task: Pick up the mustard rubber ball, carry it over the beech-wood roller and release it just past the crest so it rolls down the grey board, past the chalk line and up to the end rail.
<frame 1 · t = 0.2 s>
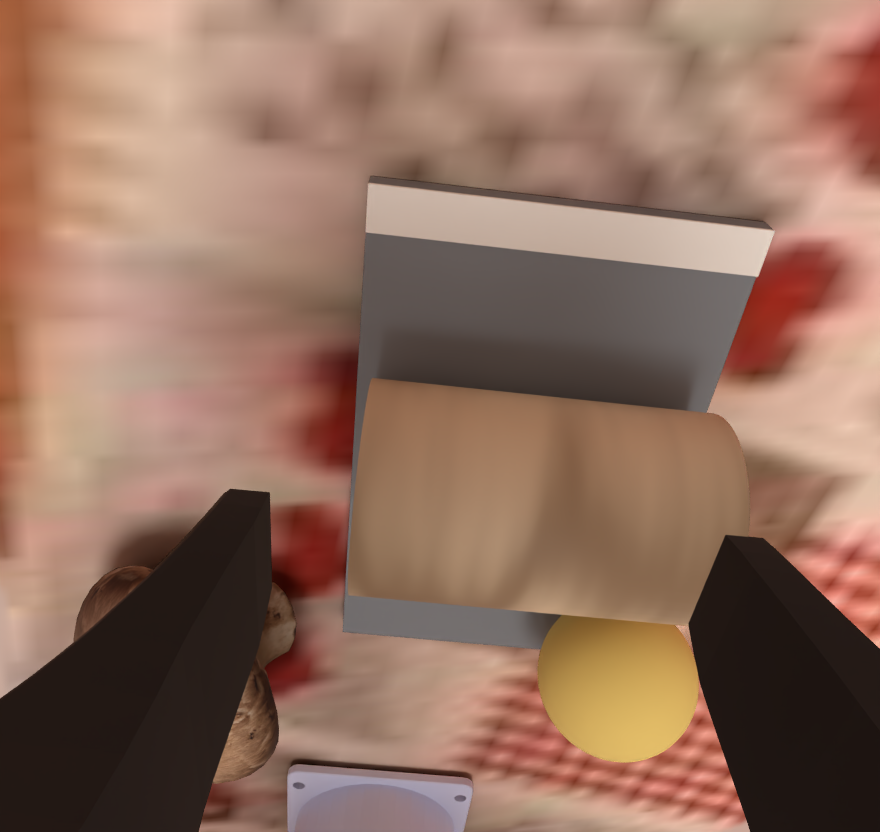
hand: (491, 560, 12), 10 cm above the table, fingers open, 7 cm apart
ball: (602, 616, 26), point 1 cm above the table, touching grey board
mushroom: (208, 600, 27), on the table
roller: (522, 429, 22), resting on grey board
grey board: (516, 456, 23), on the table
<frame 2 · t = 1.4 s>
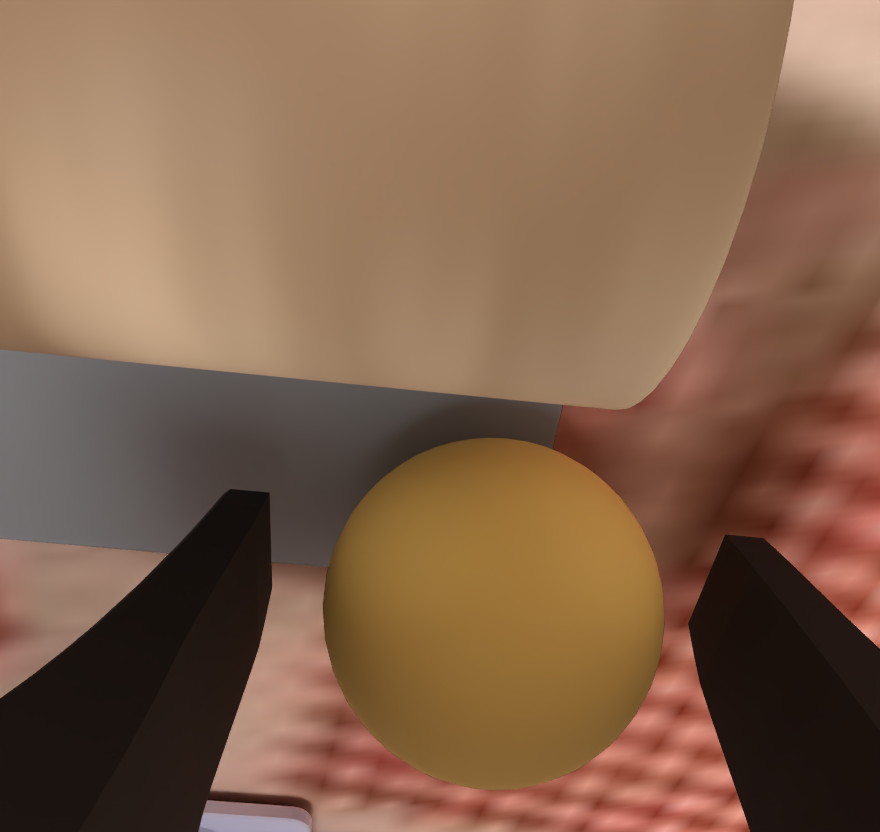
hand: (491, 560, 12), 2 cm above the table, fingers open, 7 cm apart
ball: (484, 498, 13), point 1 cm above the table, touching grey board
roller: (257, 32, 10), resting on grey board
grey board: (259, 112, 10), on the table
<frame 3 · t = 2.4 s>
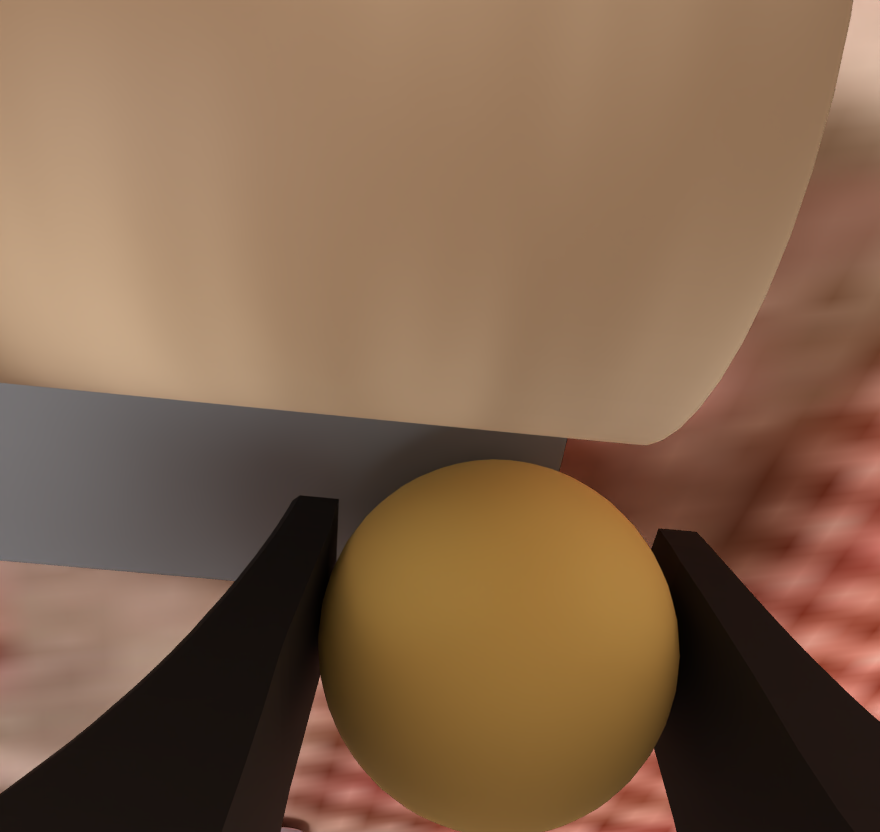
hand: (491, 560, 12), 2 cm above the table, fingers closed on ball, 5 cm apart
ball: (488, 519, 13), point 1 cm above the table, touching gripper, grey board
roller: (247, 31, 9), resting on grey board
grey board: (250, 116, 10), on the table
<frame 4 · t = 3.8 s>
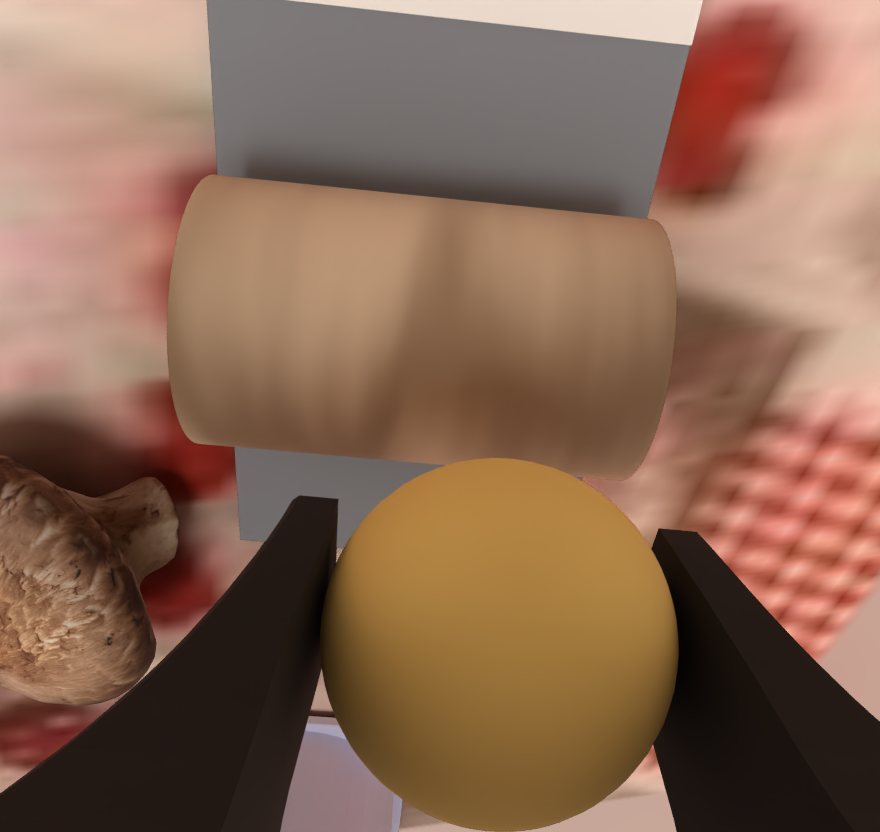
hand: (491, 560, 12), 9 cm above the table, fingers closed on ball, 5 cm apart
ball: (493, 518, 13), point 8 cm above the table, touching gripper
mushroom: (88, 507, 23), on the table
roller: (427, 273, 19), resting on grey board
grey board: (423, 310, 19), on the table
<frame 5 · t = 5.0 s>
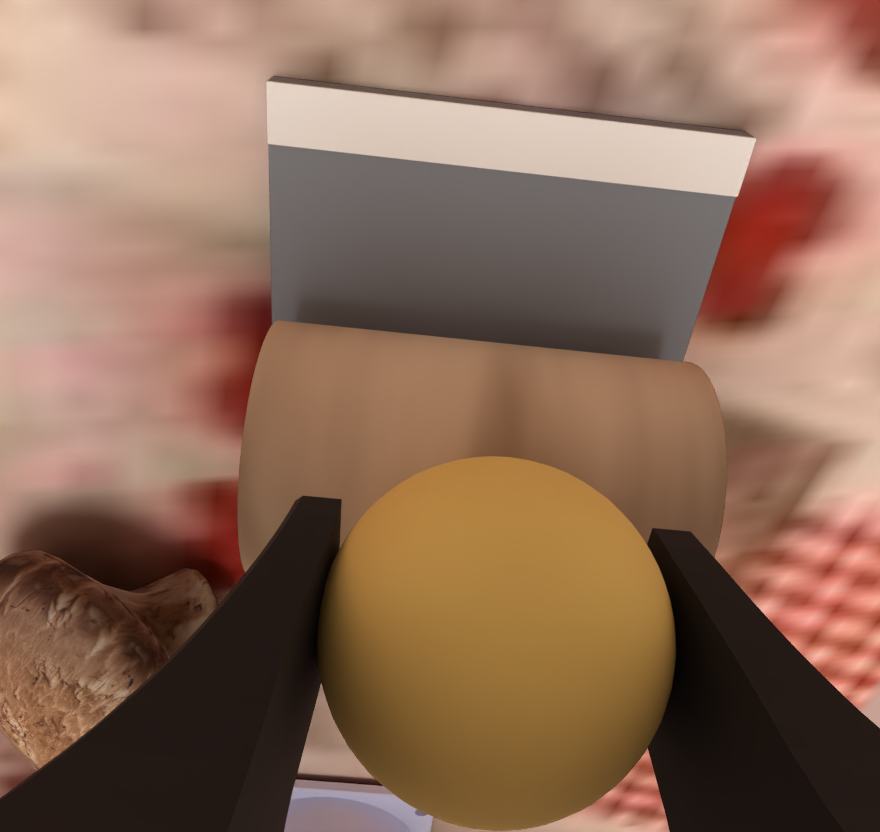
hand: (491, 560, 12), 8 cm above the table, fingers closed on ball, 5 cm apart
ball: (491, 517, 13), point 7 cm above the table, touching gripper
mushroom: (128, 591, 24), on the table
roller: (470, 389, 19), resting on grey board
grey board: (465, 421, 20), on the table
when the fingers open (8 cm above the table, at t = 5.3 s): ball drops 6 cm and tips over, point 1 cm above the table.
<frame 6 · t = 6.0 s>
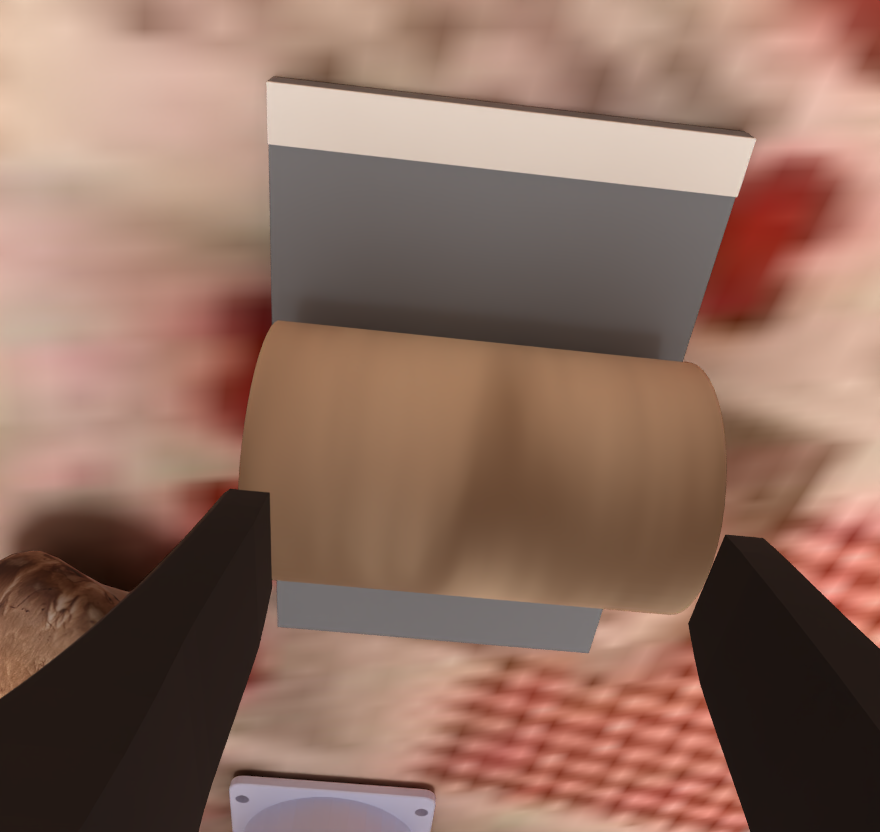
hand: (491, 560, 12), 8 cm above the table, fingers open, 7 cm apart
mushroom: (128, 591, 24), on the table
roller: (470, 389, 19), resting on grey board
grey board: (465, 421, 20), on the table
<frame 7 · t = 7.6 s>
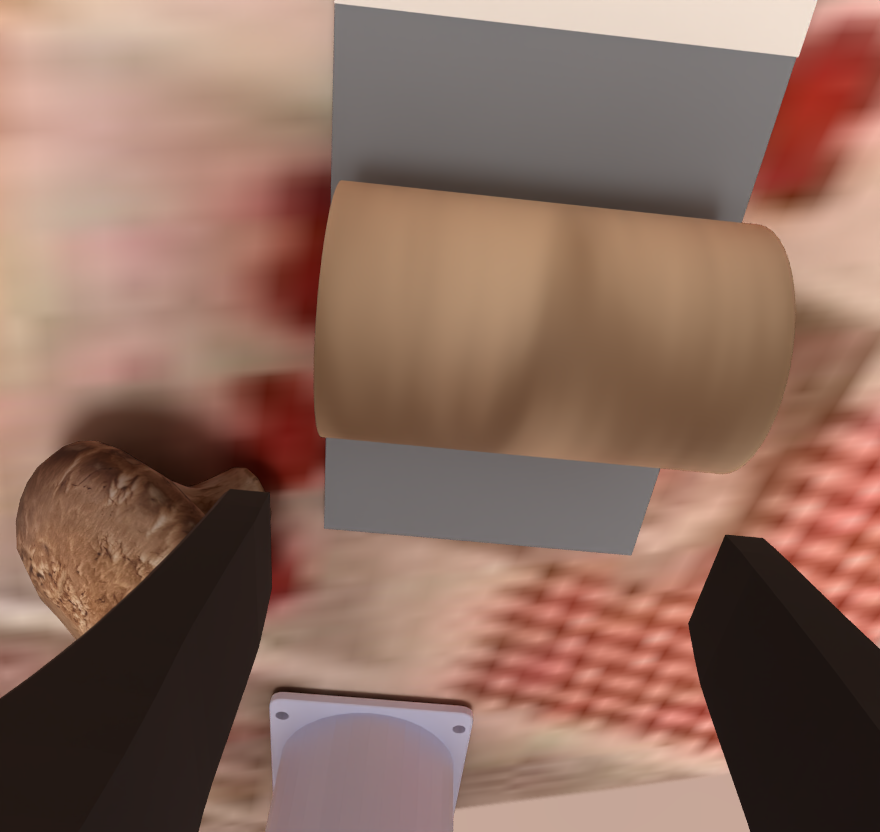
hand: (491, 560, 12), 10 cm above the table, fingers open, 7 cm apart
mushroom: (176, 496, 24), on the table
roller: (522, 273, 19), resting on grey board
grey board: (516, 308, 20), on the table
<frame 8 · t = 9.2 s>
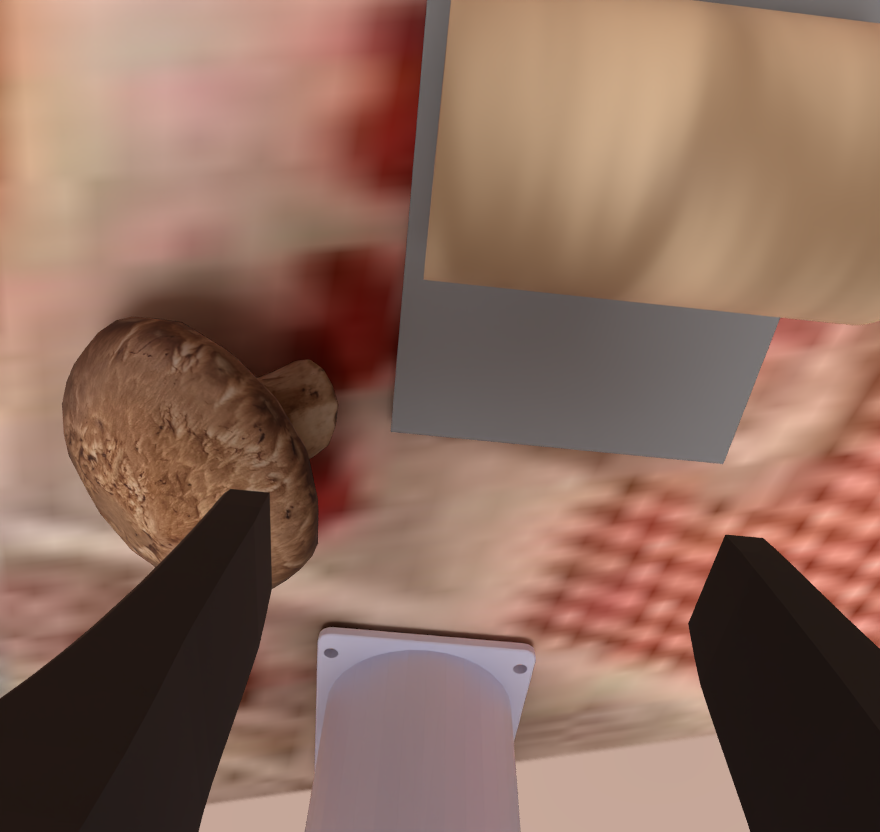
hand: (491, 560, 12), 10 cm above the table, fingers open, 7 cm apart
mushroom: (228, 398, 22), on the table
roller: (628, 126, 18), resting on grey board
grey board: (618, 168, 18), on the table
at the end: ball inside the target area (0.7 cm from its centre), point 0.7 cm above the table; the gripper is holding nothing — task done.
